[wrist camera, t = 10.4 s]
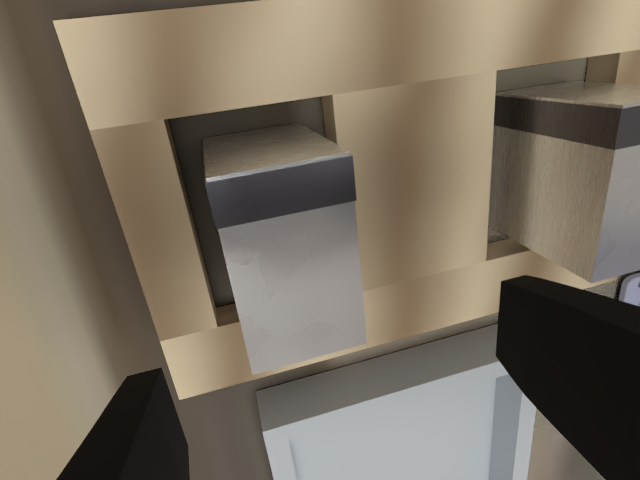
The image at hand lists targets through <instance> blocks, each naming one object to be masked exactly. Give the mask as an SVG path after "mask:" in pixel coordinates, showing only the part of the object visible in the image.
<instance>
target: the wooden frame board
mask: <svg viewBox="0 0 640 480" xmlns="http://www.w3.org/2000/svg"><path fill="white" fill-rule="evenodd" d="M53 23H54V26H55V29H56V32H57V35H58V38H59V41H60V44H61V47H62V50H63V53H64V56H65V59H66V62H67V65H68V68H69V71H70V74H71V77H72V80H73V83H74V86H75V89H76V92H77V95H78V98H79V101H80V104H81V107H82V110H83V113H84V116H85V119H86V122H87V125H88V128H89V131H90V134H91V137H92V140H93V143H94V146H95V149H96V152H97V155H98V158H99V161H100V164H101V167H102V170H103V173H104V176H105V179H106V182H107V185H108V188H109V191H110V194H111V197H112V200H113V203H114V206H115V208H116V211H117V214H118V217H119V220H120V223H121V226H122V229H123V232H124V235H125V238H126V241H127V244H128V247H129V250H130V253H131V256H132V259H133V262H134V265H135V268H136V271H137V274H138V277H139V280H140V283H141V286H142V289H143V292H144V295H145V298H146V301H147V304H148V307H149V310H150V313H151V316H152V319H153V322H154V325H155V328H156V331H157V334H158V337H159V340H160V343H161V346H162V349H163V352H164V355H165V358H166V361H167V364H168V367H169V370H170V373H171V376H172V379H173V382H174V385H175V388H176V391H177V394H178V397H179V400H181V399H185V398H189V397H192V396H196V395H199V394H203V393H207V392H210V391H214V390H218V389H221V388H225V387H229V386H232V385H236V384H240V383H243V382H247V381H251V380H254V379H258V378H261V377H265V376H269V375H272V374H276V373H280V372H283V371H287V370H291V369H294V368H298V367H302V366H305V365H309V364H312V363H316V362H320V361H323V360H327V359H331V358H334V357H338V356H342V355H345V354H349V353H353V352H356V351H360V350H363V349H367V348H371V347H374V346H378V345H382V344H385V343H389V342H393V341H396V340H400V339H404V338H407V337H411V336H415V335H418V334H422V333H425V332H429V331H433V330H436V329H440V328H444V327H447V326H451V325H455V324H458V323H462V322H466V321H469V320H473V319H476V318H480V317H484V316H487V315H491V314H495V313H498V312H499V301H500V288H501V281H503V280H507V279H511V278H515V277H519V276H523V275H528V276H533V277H538V278H542V279H546V280H550V281H554V282H558V283H561V284H565V285H568V286H572V287H575V288H579V289H586V288H589V287H593V286H597V285H600V284H604V283H608V282H611V281H615V280H617V278H618V276H616V277H613V278H609V279H605V280H602V281H598V282H594V283H590V282H588V281H586V280H585V279H583V278H581V277H579V276H577V275H576V274H574V273H572V272H570V271H568V270H567V269H565V268H563V267H561V266H559V265H558V264H556V263H554V262H552V261H550V260H548V259H547V258H545V257H543V256H541V255H539V254H538V253H536V252H534V251H532V250H530V249H529V248H527V247H525V246H523V245H521V244H520V243H518V242H516V241H514V240H512V239H511V238H508V239H504V240H500V241H496V242H492V243H487V237H488V219H489V201H490V183H491V165H492V147H493V128H494V110H495V92H496V74H497V71H498V70H504V69H511V68H518V67H525V66H532V65H538V64H545V63H552V62H559V61H566V60H572V59H579V58H586V57H588V64H587V71H586V79H585V82H593V83H615V84H638V85H640V0H260V1H249V2H239V3H229V4H219V5H209V6H198V7H188V8H178V9H168V10H158V11H147V12H137V13H127V14H117V15H107V16H96V17H86V18H76V19H66V20H56V21H53ZM314 97H322V107H323V116H324V125H325V135H326V138H327V139H328V140H330V141H332V142H334V143H335V144H337V145H339V146H341V147H342V148H344V149H346V150H348V151H350V153H351V155H353V163H354V174H355V186H356V198H357V201H355V210H356V221H357V233H358V244H359V256H360V267H361V278H362V290H363V301H364V313H365V324H366V335H367V343H366V344H363V345H359V346H356V347H352V348H348V349H345V350H341V351H338V352H334V353H330V354H327V355H323V356H320V357H316V358H312V359H309V360H305V361H302V362H298V363H294V364H291V365H287V366H284V367H280V368H277V369H273V370H269V371H266V372H262V373H259V374H255V375H252V371H251V367H250V362H249V358H248V354H247V350H246V346H245V341H244V337H243V333H242V329H241V324H240V320H239V316H238V312H237V308H236V303H234V304H230V305H225V306H221V307H217V308H216V305H215V301H214V297H213V294H212V290H211V286H210V282H209V278H208V274H207V270H206V266H205V262H204V258H203V254H202V251H201V247H200V243H199V239H198V235H197V231H196V227H195V223H194V219H193V215H192V211H191V208H190V204H189V200H188V196H187V192H186V188H185V184H184V180H183V176H182V172H181V168H180V165H179V161H178V157H177V153H176V149H175V145H174V141H173V137H172V133H171V129H170V125H169V122H168V119H171V118H178V117H185V116H192V115H198V114H205V113H212V112H219V111H226V110H232V109H239V108H246V107H253V106H260V105H266V104H273V103H280V102H287V101H294V100H300V99H307V98H314Z"/></svg>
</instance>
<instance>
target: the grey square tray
mask: <svg viewBox="0 0 640 480" xmlns="http://www.w3.org/2000/svg"><path fill="white" fill-rule="evenodd" d="M497 328H498V324H494V325H491V326H487V327H484V328H480V329H476V330H473V331H469V332H466V333H462V334H459V335H455V336H451V337H448V338H444V339H441V340H437V341H434V342H430V343H426V344H423V345H419V346H416V347H412V348H409V349H405V350H401V351H398V352H394V353H391V354H387V355H384V356H380V357H377V358H373V359H369V360H366V361H362V362H359V363H355V364H352V365H348V366H344V367H341V368H337V369H334V370H330V371H327V372H323V373H319V374H316V375H312V376H309V377H305V378H302V379H298V380H294V381H291V382H287V383H284V384H280V385H277V386H273V387H269V388H266V389H262V390H259V391H255V392H256V398H257V403H258V409H259V415H260V420H261V426H262V432H263V436H264V440H265V445H266V449H267V453H268V457H269V462H270V466H271V470H272V474H273V479H274V480H527V475H528V467H529V459H530V452H531V444H532V436H533V429H534V421H535V414H536V407H535V406H534V405H533V403H532V402H531V401H530V400H529V399H528V398H527V397H526V396H525V395H524V394H523V392H522V391H521V390H520V388H519V387H518V386H517V385H516V383H515V382H514V381H513V379H512V378H511V377H510V375H509V374H508V373H507V371H506V370H505V368H504V367H503V366H502V364H501V363H500V361H499V360H498V359H497V357H496V356H495V355H496V342H497Z"/></svg>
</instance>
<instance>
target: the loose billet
mask: <svg viewBox="0 0 640 480" xmlns="http://www.w3.org/2000/svg"><path fill="white" fill-rule="evenodd" d="M202 139H203V141H202V153H203V167H204V182H205V187H206V191H207V195H208V199H209V203H210V208H211V212H212V216H213V220H214V224H215V228H216V229H218V232H219V236H220V240H221V245H222V249H223V253H224V257H225V261H226V266H227V270H228V274H229V278H230V282H231V287H232V291H233V295H234V299H235V303H236V308H237V312H238V316H239V320H240V324H241V329H242V333H243V337H244V341H245V346H246V350H247V354H248V358H249V362H250V367H251V371H252V375H255V374H259V373H262V372H266V371H269V370H273V369H277V368H280V367H284V366H287V365H291V364H294V363H298V362H302V361H305V360H309V359H312V358H316V357H320V356H323V355H327V354H330V353H334V352H338V351H341V350H345V349H348V348H352V347H356V346H359V345H363V344H366V343H367V335H366V324H365V313H364V301H363V290H362V278H361V267H360V256H359V244H358V233H357V221H356V210H355V201H357V198H356V186H355V174H354V163H353V155H351V153H350V151H348V150H346V149H344V148H342V147H341V146H339V145H337V144H335V143H334V142H332V141H330V140H328V139H327V138H325V137H323V136H321V135H319V134H318V133H316V132H314V131H312V130H311V129H309V128H307V127H305V126H303V125H302V124H300V123H294V124H288V125H282V126H275V127H269V128H263V129H257V130H251V131H245V132H239V133H232V134H226V135H220V136H214V137H208V138H202Z"/></svg>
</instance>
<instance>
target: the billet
mask: <svg viewBox="0 0 640 480" xmlns="http://www.w3.org/2000/svg"><path fill="white" fill-rule="evenodd" d="M488 226H489V227H491V228H493V229H494V230H496V231H498V232H500V233H502V234H503V235H505V236H507V237H509V238H511V239H512V240H514V241H516V242H518V243H520V244H521V245H523V246H525V247H527V248H529V249H530V250H532V251H534V252H536V253H538V254H539V255H541V256H543V257H545V258H547V259H548V260H550V261H552V262H554V263H556V264H558V265H559V266H561V267H563V268H565V269H567V270H568V271H570V272H572V273H574V274H576V275H577V276H579V277H581V278H583V279H585V280H586V281H588V282H590V283H594V282H598V281H602V280H605V279H609V278H613V277H616V276H620V275H624V274H627V273H631V272H635V271H638V270H640V85H638V84H615V83H593V82H570V81H565V82H559V83H552V84H546V85H540V86H533V87H527V88H521V89H514V90H508V91H502V92H495V110H494V128H493V147H492V165H491V183H490V201H489V219H488Z"/></svg>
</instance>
